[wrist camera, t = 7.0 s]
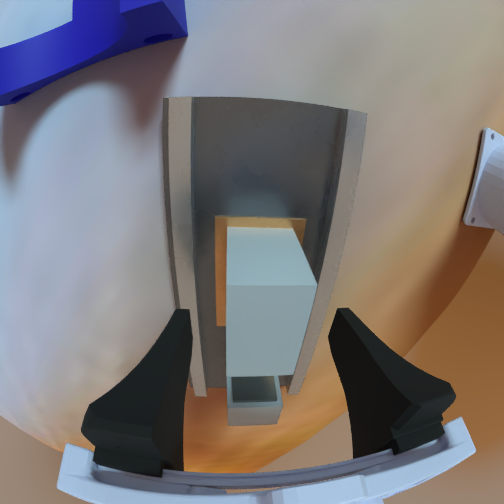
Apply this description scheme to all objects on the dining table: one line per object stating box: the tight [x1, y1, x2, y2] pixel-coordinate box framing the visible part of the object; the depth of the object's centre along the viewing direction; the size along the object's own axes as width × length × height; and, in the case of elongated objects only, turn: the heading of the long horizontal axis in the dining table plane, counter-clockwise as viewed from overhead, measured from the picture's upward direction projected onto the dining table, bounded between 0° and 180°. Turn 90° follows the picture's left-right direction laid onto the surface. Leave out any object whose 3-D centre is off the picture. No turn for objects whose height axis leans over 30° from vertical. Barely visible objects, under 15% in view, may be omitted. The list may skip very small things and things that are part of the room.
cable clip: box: [0, 0, 188, 106], centre depth 7 cm, size 12×4×6 cm, turn 96°
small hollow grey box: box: [227, 375, 283, 426], centre depth 18 cm, size 4×3×5 cm
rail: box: [163, 97, 367, 397], centre depth 17 cm, size 10×22×2 cm, turn 177°
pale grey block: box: [226, 227, 317, 377], centre depth 14 cm, size 4×6×5 cm, turn 177°
